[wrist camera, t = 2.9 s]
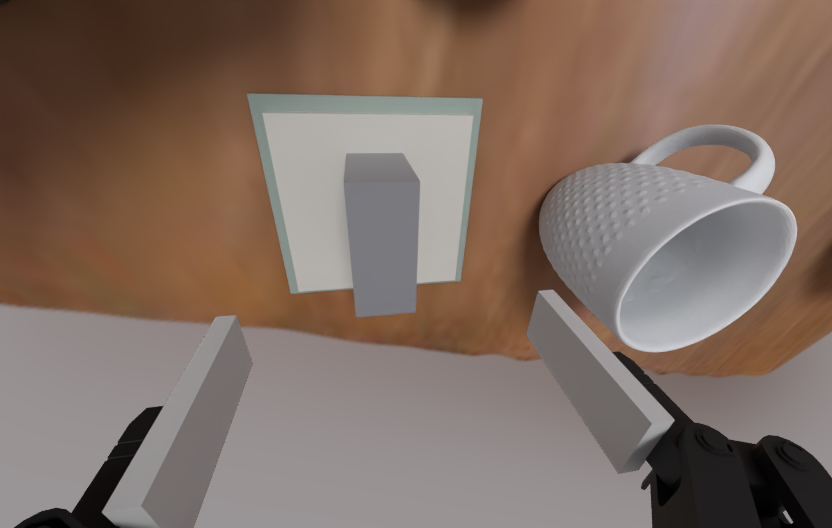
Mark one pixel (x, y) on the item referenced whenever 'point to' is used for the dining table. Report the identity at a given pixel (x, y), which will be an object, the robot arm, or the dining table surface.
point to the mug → (669, 240)
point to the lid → (371, 200)
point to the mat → (357, 104)
